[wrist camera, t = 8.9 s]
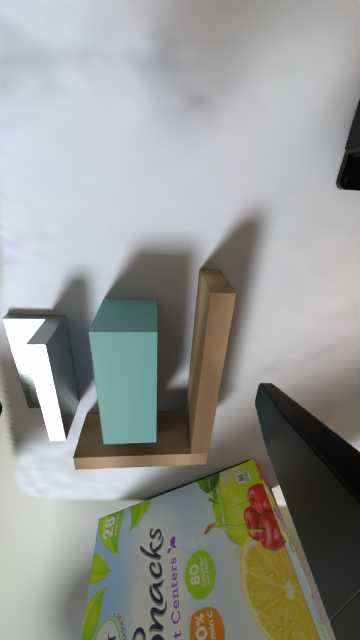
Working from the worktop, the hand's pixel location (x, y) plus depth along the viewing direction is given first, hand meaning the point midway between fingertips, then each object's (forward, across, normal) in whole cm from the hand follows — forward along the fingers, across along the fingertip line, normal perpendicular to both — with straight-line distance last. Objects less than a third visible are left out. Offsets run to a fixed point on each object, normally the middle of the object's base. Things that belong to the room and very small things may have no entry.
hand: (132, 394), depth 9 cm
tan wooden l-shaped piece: (+11, 0, +7) cm, 13 cm away
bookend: (+11, +9, +7) cm, 16 cm away
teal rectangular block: (+12, +1, +6) cm, 13 cm away
